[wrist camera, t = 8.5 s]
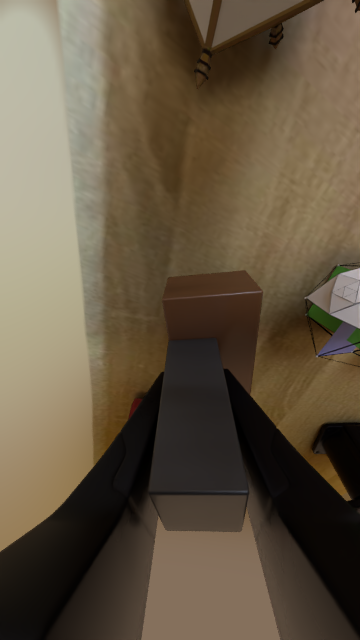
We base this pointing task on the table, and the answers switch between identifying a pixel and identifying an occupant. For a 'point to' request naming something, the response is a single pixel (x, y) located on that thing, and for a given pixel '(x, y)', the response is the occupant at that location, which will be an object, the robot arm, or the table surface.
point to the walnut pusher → (204, 401)
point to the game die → (239, 23)
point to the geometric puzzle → (338, 310)
